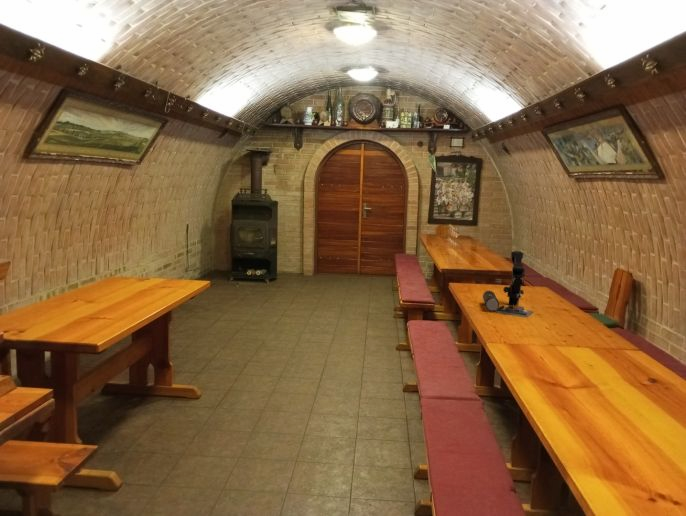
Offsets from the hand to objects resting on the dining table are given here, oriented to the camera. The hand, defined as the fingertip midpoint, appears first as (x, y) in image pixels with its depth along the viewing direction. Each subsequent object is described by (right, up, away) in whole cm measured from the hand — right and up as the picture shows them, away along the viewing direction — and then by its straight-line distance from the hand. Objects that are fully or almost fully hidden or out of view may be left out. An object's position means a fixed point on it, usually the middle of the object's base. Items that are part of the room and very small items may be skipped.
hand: (514, 305), depth 389 cm
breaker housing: (+1, -4, 0) cm, 4 cm away
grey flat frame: (-1, -4, 0) cm, 4 cm away
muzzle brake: (-14, -3, +11) cm, 18 cm away
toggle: (+1, -3, +3) cm, 4 cm away
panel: (0, -5, +1) cm, 5 cm away
